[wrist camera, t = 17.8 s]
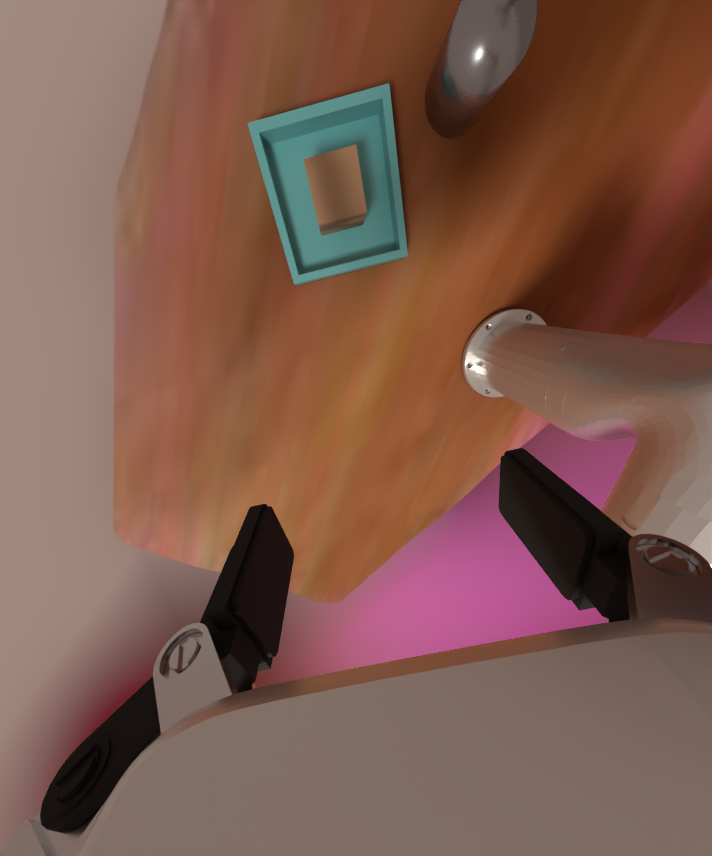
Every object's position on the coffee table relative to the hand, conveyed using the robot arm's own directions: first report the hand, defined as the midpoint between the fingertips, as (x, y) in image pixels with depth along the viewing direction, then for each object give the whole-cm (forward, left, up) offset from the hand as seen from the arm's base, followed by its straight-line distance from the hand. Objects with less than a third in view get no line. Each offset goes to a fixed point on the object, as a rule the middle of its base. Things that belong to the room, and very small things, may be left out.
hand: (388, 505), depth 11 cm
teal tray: (-2, -17, -30) cm, 35 cm away
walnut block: (-2, -17, -30) cm, 34 cm away
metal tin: (-16, -23, -30) cm, 41 cm away
